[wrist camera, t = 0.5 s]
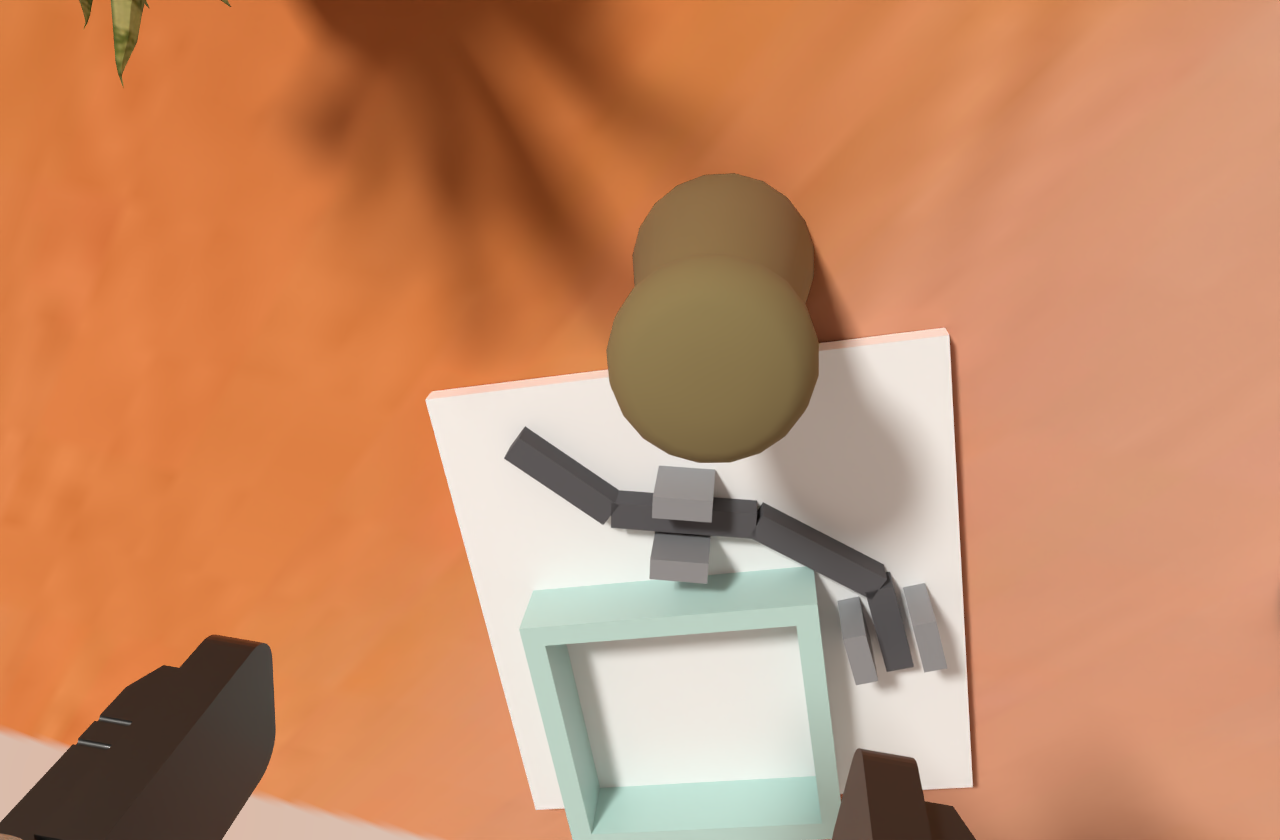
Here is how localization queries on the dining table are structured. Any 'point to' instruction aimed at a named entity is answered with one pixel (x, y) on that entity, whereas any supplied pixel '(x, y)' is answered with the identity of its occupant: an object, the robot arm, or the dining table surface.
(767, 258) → the cork
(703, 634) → the board
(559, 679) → the mint green square frame
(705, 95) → the dining table surface
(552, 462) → the routed cable
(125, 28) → the house plant
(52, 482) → the dining table surface
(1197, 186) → the dining table surface
